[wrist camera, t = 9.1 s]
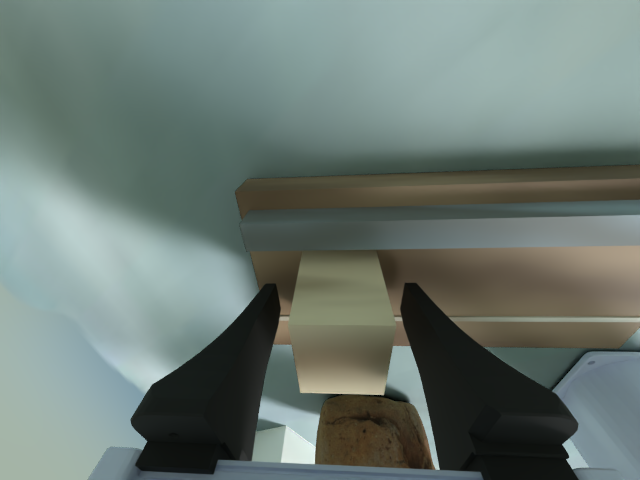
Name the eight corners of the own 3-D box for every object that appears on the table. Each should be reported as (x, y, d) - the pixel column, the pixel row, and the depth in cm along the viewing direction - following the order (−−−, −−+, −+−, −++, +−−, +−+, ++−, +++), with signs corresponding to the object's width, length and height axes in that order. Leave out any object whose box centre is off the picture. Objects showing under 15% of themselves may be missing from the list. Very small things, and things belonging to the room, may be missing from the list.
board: (591, 324, 18) (643, 370, 15) (278, 322, 20) (268, 363, 17) (727, 161, 12) (861, 185, 9) (247, 179, 13) (222, 204, 10)
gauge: (366, 349, 18) (377, 430, 13) (313, 348, 18) (306, 428, 14) (375, 248, 13) (396, 325, 9) (302, 249, 13) (288, 324, 9)
